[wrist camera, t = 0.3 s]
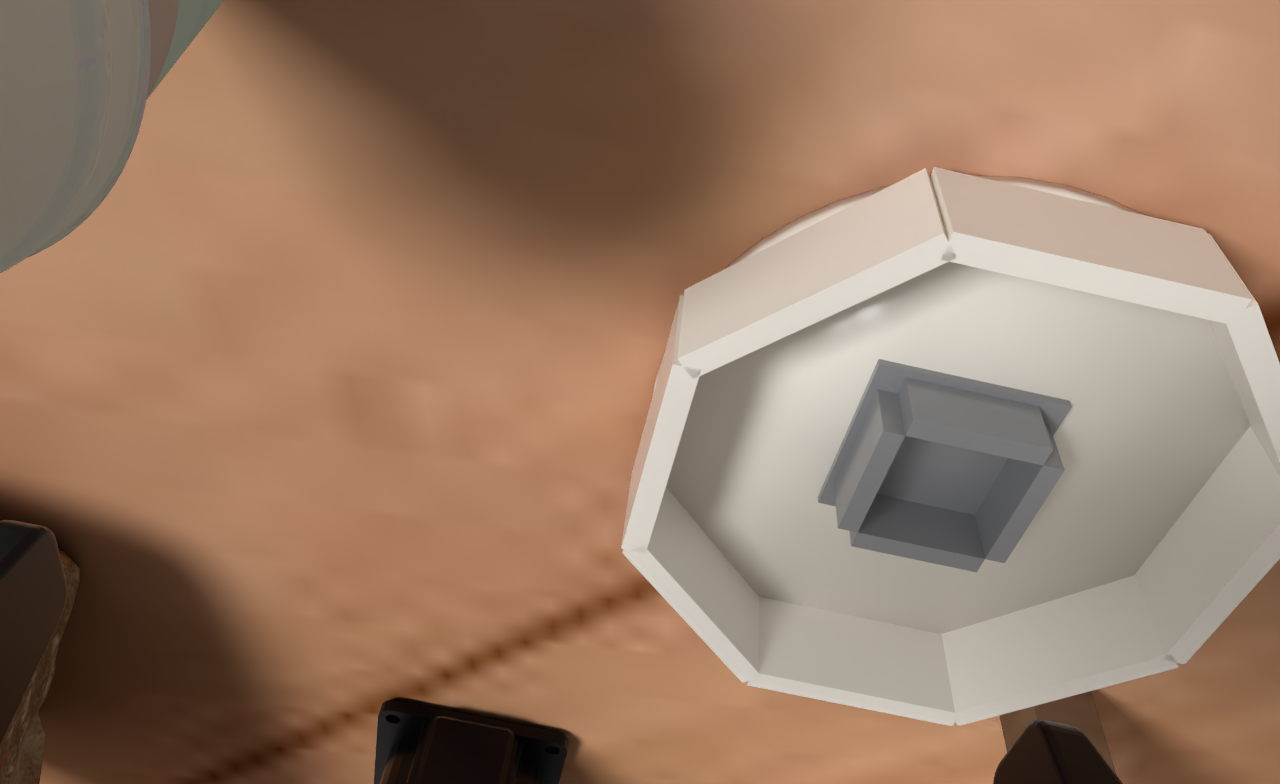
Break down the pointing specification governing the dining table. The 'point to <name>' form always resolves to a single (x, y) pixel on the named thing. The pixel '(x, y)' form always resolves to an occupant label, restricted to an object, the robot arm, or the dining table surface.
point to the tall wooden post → (1060, 720)
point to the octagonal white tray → (961, 450)
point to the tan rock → (35, 702)
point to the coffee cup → (76, 104)
